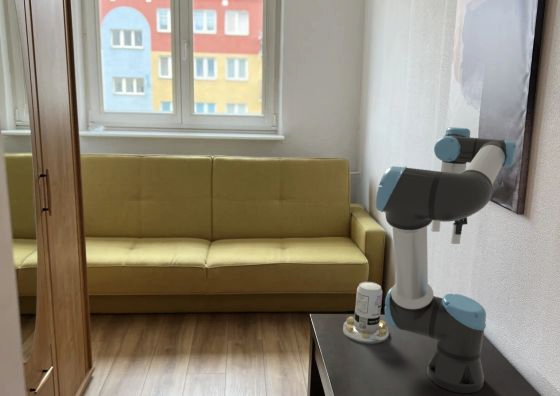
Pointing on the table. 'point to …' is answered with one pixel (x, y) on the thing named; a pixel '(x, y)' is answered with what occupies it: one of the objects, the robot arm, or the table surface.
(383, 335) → the ring plate
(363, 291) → the supplement can
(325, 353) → the table surface
